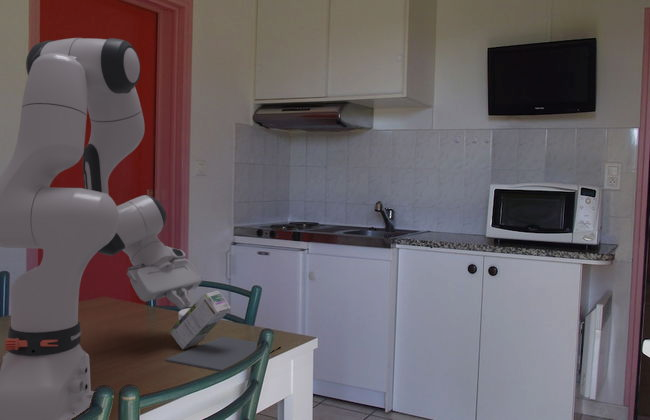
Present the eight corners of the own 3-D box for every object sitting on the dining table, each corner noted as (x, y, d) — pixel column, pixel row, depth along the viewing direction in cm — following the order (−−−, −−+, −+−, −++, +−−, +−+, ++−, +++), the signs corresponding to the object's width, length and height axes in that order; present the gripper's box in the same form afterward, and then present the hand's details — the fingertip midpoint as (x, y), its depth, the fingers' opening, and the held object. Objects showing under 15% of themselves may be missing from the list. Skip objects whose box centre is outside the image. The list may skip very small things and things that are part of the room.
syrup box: (183, 326, 157) (217, 288, 152) (197, 345, 156) (232, 307, 151) (168, 331, 152) (202, 292, 147) (182, 351, 151) (218, 312, 145)
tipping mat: (165, 360, 142) (165, 359, 142) (222, 338, 162) (222, 336, 162) (229, 373, 135) (229, 371, 135) (281, 347, 155) (281, 346, 155)
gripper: (131, 258, 146) (164, 306, 143) (187, 249, 165) (218, 291, 161) (116, 276, 148) (149, 323, 145) (173, 265, 167) (203, 306, 163)
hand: (185, 306), depth 153 cm, fingers closed
